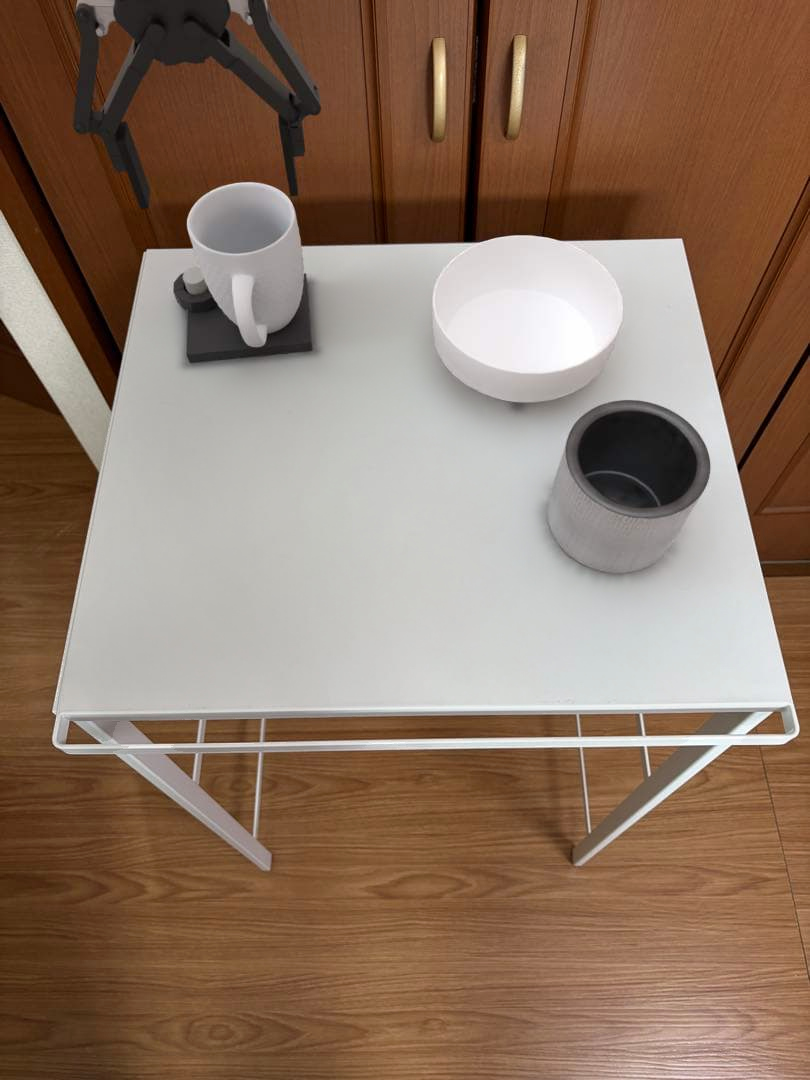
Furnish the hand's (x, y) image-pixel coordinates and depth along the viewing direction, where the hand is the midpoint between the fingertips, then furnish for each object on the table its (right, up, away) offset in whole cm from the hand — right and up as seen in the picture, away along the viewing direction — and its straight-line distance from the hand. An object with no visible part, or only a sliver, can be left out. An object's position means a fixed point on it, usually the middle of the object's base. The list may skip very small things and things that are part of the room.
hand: (220, 193), depth 69 cm
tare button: (-7, -3, +18) cm, 19 cm away
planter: (+37, -30, +5) cm, 48 cm away
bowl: (+30, -11, +16) cm, 35 cm away
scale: (-1, -6, +19) cm, 20 cm away
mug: (+1, -7, +17) cm, 18 cm away
